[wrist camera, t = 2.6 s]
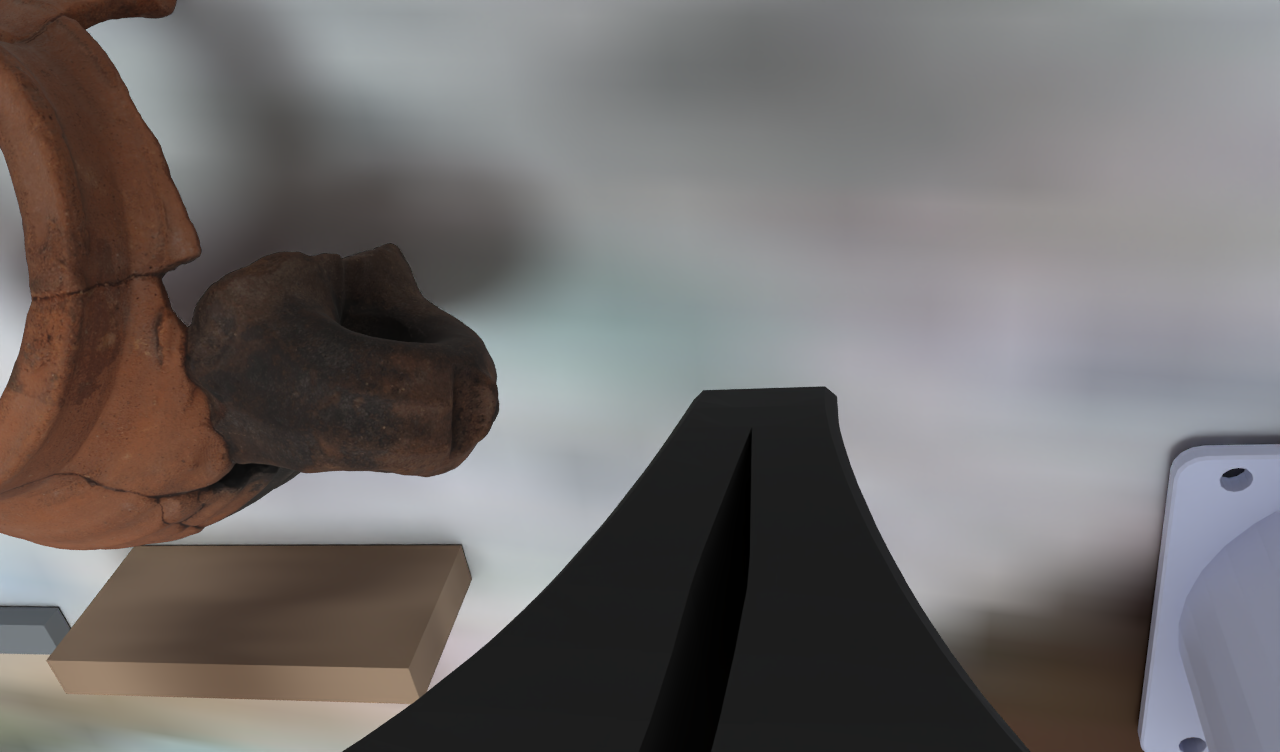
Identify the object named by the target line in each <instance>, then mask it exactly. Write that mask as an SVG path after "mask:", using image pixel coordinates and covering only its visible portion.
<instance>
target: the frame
mask: <svg viewBox="0 0 1280 752" xmlns="http://www.w3.org/2000/svg"><path fill="white" fill-rule="evenodd" d="M69 630H70V628H69V626H68V624H67V622H66V621H65V619H64V617H63V615H62V614H61V612H60V610H59V608H40V607H0V653H5V654H52V652H53V651H54V650H55V649H56V647H57V646H58V645H59V643H60V642H61V641H62V639H63V638H64V637H65V636H66V634H67V633H68V632H69Z"/></svg>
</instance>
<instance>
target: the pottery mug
mask: <svg viewBox="0 0 1280 752" xmlns="http://www.w3.org/2000/svg"><path fill="white" fill-rule="evenodd" d="M176 1H177V0H0V148H1V150H2V152H3V154H4V157H5V160H6V163H7V166H8V169H9V172H10V176H11V179H12V183H13V186H14V190H15V193H16V197H17V200H18V204H19V209H20V213H21V216H22V225H23V230H24V237H25V252H26V260H27V264H28V271H29V287H30V292H31V297H32V303H31V306H30V308H29V311H28V314H27V318H26V324H25V329H24V334H23V339H22V343H21V347H20V352H19V355H18V357H17V360H16V362H15V364H14V367H13V370H12V373H11V376H10V379H9V381H8V384H7V386H6V388H5V390H4V392H3V394H2V396H1V398H0V533H3V534H6V535H9V536H13V537H16V538H21V539H25V540H28V541H31V542H33V543H36V544H40V545H44V546H49V547H54V548H59V549H69V550H97V549H105V550H106V549H120V548H127V547H135V546H141V545H145V544H154V543H161V542H169V541H173V540H177V539H181V538H184V537H187V536H190V535H193V534H196V533H199V532H201V531H202V530H203V529H204V527H206V526H209V525H211V524H213V523H216V522H218V521H220V520H222V519H224V518H226V517H228V516H230V515H232V514H234V513H236V512H238V511H240V510H242V509H244V508H245V507H247V506H249V505H250V504H252V503H254V502H256V501H257V500H259V499H260V498H262V497H263V496H265V495H266V494H268V493H269V492H270V491H272V490H273V489H275V488H278V487H279V486H281V485H283V484H285V483H286V482H288V481H289V480H291V479H292V478H294V477H295V476H296V475H298V474H299V473H300V472H303V473H318V472H327V471H374V472H384V473H396V474H401V475H412V476H413V475H415V476H422V477H430V476H435V475H439V474H443V473H446V472H448V471H450V470H453V469H455V468H456V467H458V466H459V465H460V464H461V463H462V462H463V461H464V460H465V459H466V458H467V457H468V456H469V454H470V453H471V452H472V450H473V449H474V447H475V446H476V444H477V443H478V442H479V441H481V440H482V439H483V438H484V437H485V436H486V435H487V434H488V432H489V431H490V429H491V426H492V424H493V422H494V421H495V419H496V417H497V415H498V412H499V400H498V388H497V385H496V381H497V373H496V369H495V365H494V362H493V360H492V358H491V356H490V354H489V352H488V351H487V349H486V347H485V345H484V342H483V341H482V339H481V338H480V337H479V336H478V335H477V334H476V333H475V332H474V331H473V330H472V329H471V328H469V327H468V326H466V325H465V324H464V323H463V322H461V321H459V320H458V319H456V318H455V317H453V316H452V315H450V314H448V313H446V312H444V311H443V310H441V309H439V308H438V307H436V306H435V305H433V304H432V303H430V302H429V301H428V300H426V299H425V298H424V297H423V296H422V294H421V292H420V291H419V289H418V287H417V285H416V282H415V280H414V277H413V274H412V271H411V269H410V267H409V265H408V263H407V262H406V260H405V258H404V256H403V254H402V252H401V251H400V249H399V248H398V247H397V246H396V245H394V244H391V243H388V244H385V245H382V246H380V247H377V248H374V249H373V250H370V251H365V252H362V253H358V254H356V255H353V256H348V257H345V258H342V257H341V256H340V255H338V254H330V253H323V254H319V255H315V256H307V255H305V254H303V253H301V252H278V253H274V254H271V255H267V256H265V257H262V258H260V259H259V260H257V261H255V262H254V263H252V264H251V265H249V266H247V267H244V268H241V269H239V270H236V271H233V272H231V273H229V274H227V275H225V276H224V277H223V278H221V279H220V280H219V281H217V282H216V283H214V284H213V285H211V286H210V287H209V288H208V289H207V291H206V292H205V293H204V295H203V296H202V298H201V299H200V300H199V301H198V303H197V305H196V307H195V310H194V316H193V319H192V324H191V326H189V327H187V326H186V325H185V324H184V323H183V322H182V321H181V320H180V319H179V318H178V317H177V315H176V314H175V312H174V311H173V310H172V307H171V304H170V300H169V297H168V294H167V291H166V289H165V287H164V285H163V282H162V278H163V276H164V275H165V274H166V273H167V272H168V271H172V270H175V269H176V268H177V267H178V266H179V265H182V264H187V263H190V262H192V261H194V260H195V259H196V258H198V257H199V256H200V254H201V247H200V241H199V238H198V235H197V232H196V230H195V228H194V225H193V224H192V222H191V221H190V219H189V217H188V214H187V211H186V208H185V206H184V204H183V202H182V199H181V197H180V194H179V192H178V190H177V188H176V186H175V184H174V182H173V180H172V178H171V175H170V170H169V167H168V164H167V162H166V160H165V157H164V155H163V152H162V148H161V145H160V144H159V142H158V140H157V138H156V137H155V136H154V134H153V133H152V131H151V130H150V129H149V127H148V126H147V125H146V123H145V122H144V121H143V119H142V117H141V115H140V113H139V112H138V110H137V108H136V106H135V105H134V103H133V101H132V99H131V97H130V95H129V91H128V89H127V87H126V85H125V83H124V82H123V80H122V79H121V77H120V74H119V72H118V71H117V69H116V67H115V66H114V64H113V63H112V61H111V60H110V58H109V57H108V55H107V54H106V52H105V51H104V50H103V49H102V48H101V46H100V45H99V44H98V43H97V41H95V40H94V39H93V37H92V36H91V35H90V34H89V33H88V32H87V31H86V29H88V28H89V27H91V26H93V25H96V24H98V23H100V22H104V21H107V20H110V19H120V18H131V17H144V18H163V17H165V16H168V15H170V14H172V13H173V11H174V9H175V6H176Z"/></svg>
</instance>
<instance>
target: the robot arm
mask: <svg viewBox="0 0 1280 752" xmlns="http://www.w3.org/2000/svg"><path fill="white" fill-rule="evenodd" d="M1235 468H1243V469H1245V470H1244V472H1243V473H1241V474H1239V475H1238V476H1235V477H1230V478H1227V477H1222V475H1223V474H1224V473H1225V472H1227V471H1228V470H1230V469H1235ZM1138 735H1139V740H1140V744H1141V748H1142V749H1143V750H1144V751H1145V752H1280V444H1255V445H1204V446H1198V447H1192V448H1190V449H1188V450H1186V451H1183V452H1181V453H1180V454H1179V455H1178V456H1177V457H1176V458H1175V459H1174V461H1173V463H1172V466H1171V468H1170V476H1169V484H1168V492H1167V500H1166V508H1165V516H1164V524H1163V532H1162V540H1161V548H1160V556H1159V564H1158V572H1157V580H1156V588H1155V596H1154V604H1153V612H1152V620H1151V628H1150V636H1149V644H1148V652H1147V660H1146V668H1145V676H1144V684H1143V692H1142V700H1141V708H1140V716H1139V724H1138ZM1191 737H1195V738H1191ZM1186 738H1189V739H1186ZM343 752H1030V751H1029V749H1028V748H1027V747H1026V746H1025V745H1024V744H1023V742H1022V741H1021V740H1020V739H1019V738H1018V736H1017V735H1016V734H1015V733H1014V732H1013V731H1012V729H1011V728H1010V727H1009V726H1008V725H1007V723H1006V722H1005V721H1004V720H1003V719H1002V717H1001V716H1000V715H999V714H998V713H997V712H996V710H995V709H994V708H993V707H992V706H991V704H990V703H989V702H988V701H987V700H986V698H985V697H984V696H983V695H982V693H981V692H980V691H979V690H978V688H977V687H976V685H975V684H974V683H973V681H972V680H971V679H970V677H969V676H968V675H967V673H966V672H965V670H964V669H963V668H962V666H961V665H960V664H959V662H958V661H957V660H956V658H955V657H954V655H953V654H952V653H951V651H950V650H949V648H948V647H947V645H946V644H945V642H944V641H943V639H942V638H941V637H940V635H939V634H938V632H937V631H936V629H935V628H934V626H933V625H932V623H931V622H930V620H929V619H928V617H927V616H926V614H925V612H924V611H923V609H922V608H921V606H920V604H919V603H918V601H917V599H916V598H915V596H914V594H913V593H912V591H911V589H910V588H909V586H908V584H907V583H906V581H905V579H904V577H903V575H902V574H901V572H900V570H899V568H898V566H897V565H896V563H895V561H894V559H893V557H892V555H891V554H890V552H889V550H888V548H887V546H886V544H885V542H884V540H883V538H882V536H881V534H880V532H879V530H878V528H877V526H876V524H875V522H874V520H873V517H872V515H871V513H870V511H869V508H868V506H867V504H866V502H865V499H864V497H863V495H862V493H861V490H860V488H859V486H858V483H857V481H856V478H855V476H854V473H853V470H852V468H851V465H850V462H849V459H848V456H847V452H846V449H845V446H844V443H843V439H842V436H841V432H840V427H839V420H838V405H837V396H836V395H835V394H833V393H832V392H831V391H830V390H829V389H827V388H826V387H794V388H762V389H731V390H703V391H702V392H701V393H700V394H699V395H698V396H697V397H696V398H695V399H694V400H693V402H692V403H691V405H690V406H689V408H688V409H687V411H686V412H685V414H684V415H683V417H682V418H681V420H680V421H679V423H678V424H677V426H676V427H675V429H674V430H673V432H672V433H671V435H670V436H669V438H668V439H667V440H666V442H665V443H664V445H663V446H662V448H661V449H660V450H659V452H658V453H657V454H656V456H655V457H654V459H653V460H652V461H651V463H650V464H649V466H648V467H647V468H646V470H645V471H644V472H643V474H642V475H641V476H640V477H639V479H638V480H637V481H636V483H635V484H634V485H633V486H632V488H631V489H630V490H629V492H628V493H627V494H626V495H625V497H624V498H623V499H622V501H621V502H620V503H619V504H618V506H617V507H616V508H615V510H614V511H613V512H612V513H611V515H610V516H609V517H608V518H607V520H606V521H605V522H604V523H603V524H602V526H601V527H600V528H599V529H598V530H597V531H596V532H595V534H594V535H593V536H592V537H591V538H590V539H589V540H588V542H587V543H586V544H585V545H584V546H583V547H582V548H581V549H580V551H579V552H578V553H577V554H576V555H575V556H574V557H573V559H572V560H571V561H570V562H569V563H568V564H567V565H566V566H565V568H564V569H563V570H562V571H561V572H560V573H559V574H558V575H557V576H556V577H555V578H554V580H553V581H552V582H551V583H550V584H549V585H548V586H547V587H546V588H545V589H544V590H543V591H542V592H541V593H540V594H539V595H538V596H537V597H536V598H535V599H534V600H533V601H532V602H531V603H530V604H529V605H528V606H527V607H526V608H525V609H524V610H523V611H522V612H521V613H520V614H519V615H518V616H516V617H515V618H514V619H513V620H512V621H511V622H510V623H509V624H508V625H507V626H506V627H505V628H504V629H503V630H502V631H500V632H499V633H498V634H497V635H496V636H495V637H494V638H493V639H492V640H491V641H489V642H488V643H487V644H486V645H485V646H484V647H482V648H481V649H480V650H479V651H478V652H477V653H475V654H474V655H473V656H472V657H470V658H469V659H468V660H467V661H465V662H464V663H463V664H462V665H460V666H459V667H458V668H457V669H455V670H454V671H453V672H452V673H450V674H449V675H448V676H447V677H445V678H444V679H443V680H441V681H440V682H439V683H438V684H436V685H435V686H434V687H433V688H431V689H430V690H429V691H428V692H426V693H425V694H424V695H423V696H421V697H420V698H419V699H418V700H416V701H415V702H414V703H412V704H411V705H410V706H408V707H407V708H405V709H404V710H403V711H401V712H400V713H398V714H397V715H396V716H394V717H393V718H391V719H390V720H388V721H387V722H386V723H384V724H383V725H381V726H380V727H378V728H377V729H376V730H374V731H373V732H371V733H370V734H368V735H367V736H366V737H364V738H363V739H361V740H359V741H358V742H356V743H355V744H353V745H352V746H350V747H349V748H347V749H346V750H344V751H343Z"/></svg>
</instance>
